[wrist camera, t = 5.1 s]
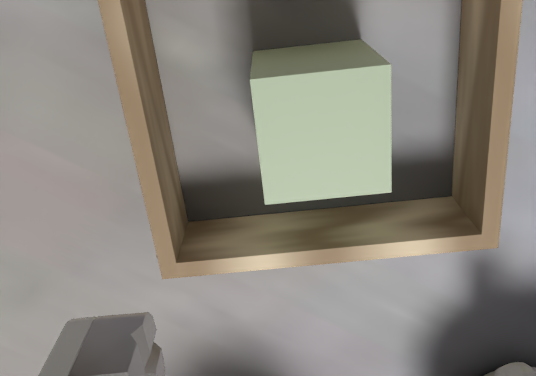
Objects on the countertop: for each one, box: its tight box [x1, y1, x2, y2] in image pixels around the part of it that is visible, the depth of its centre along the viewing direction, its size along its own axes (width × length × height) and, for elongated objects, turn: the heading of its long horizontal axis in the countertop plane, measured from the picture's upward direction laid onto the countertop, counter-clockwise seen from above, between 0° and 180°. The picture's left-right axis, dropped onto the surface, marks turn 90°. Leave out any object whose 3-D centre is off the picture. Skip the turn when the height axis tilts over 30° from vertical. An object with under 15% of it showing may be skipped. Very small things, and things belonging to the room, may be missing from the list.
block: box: [250, 39, 392, 205], centre depth 22 cm, size 5×5×6 cm
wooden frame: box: [98, 0, 523, 279], centre depth 22 cm, size 16×14×4 cm
